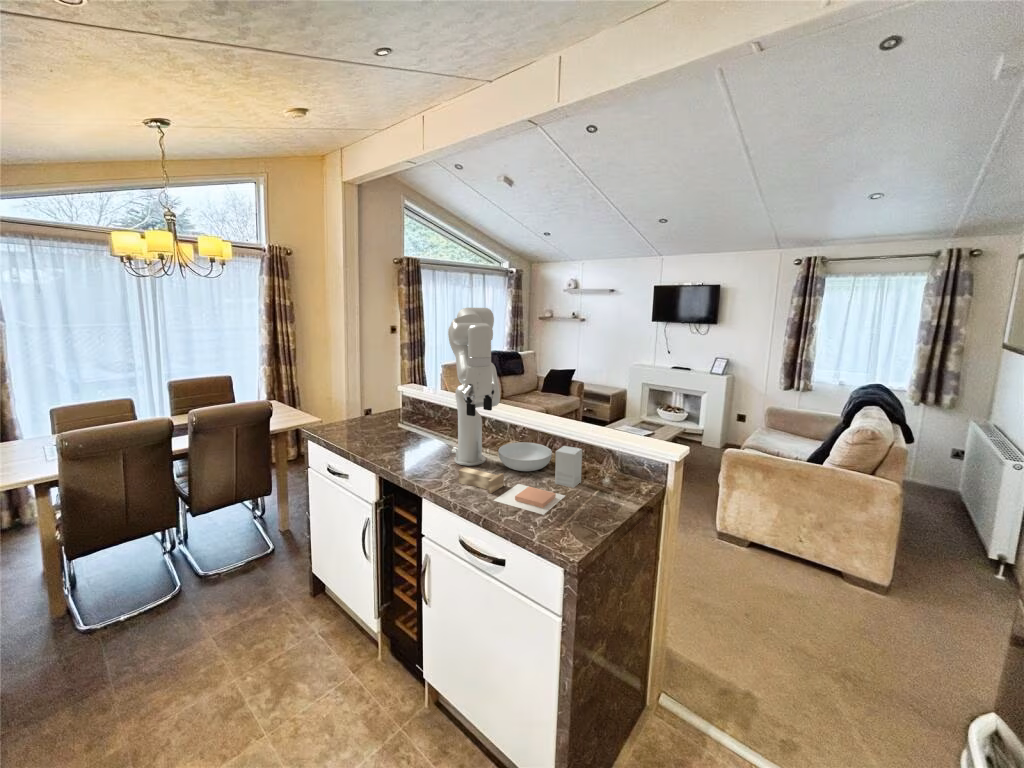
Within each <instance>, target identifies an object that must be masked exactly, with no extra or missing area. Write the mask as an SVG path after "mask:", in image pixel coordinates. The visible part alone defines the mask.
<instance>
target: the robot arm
mask: <svg viewBox="0 0 1024 768" xmlns="http://www.w3.org/2000/svg"><path fill="white" fill-rule="evenodd" d="M494 321H495V317H494V313H493V311H492V310H491V309H490V308H488V307H465V308H464V307H463V308H461V309H460V310H459V311H458V312H457V315H456V317H455V318H454V319H452V321H451V323H450V325H449V326H448V331H447V337H448V342H449V345H450V348H451V351H452V353H453V355H454V357H455V364H456V374H457V379H458V381H459V383H460V384H459V385H458V386H457V387H456V389H455V400H456V401H455V403H456V409H457V446H453V447H452V449H451V453H452V454H455V456H454V458H453V459H454V463H456V464H457V465H460V466H464V467H466V466H470V467H471V466H478V465H481V464H483V463H485V462H486V456H485V455H484V454H483V430H482V429H483V418H482V416H481V414H480V412H478V411H477V410H476V409H477V408H483V410H485V411H492V410H493V408H494V407H496V406H499V404H500V401H501V392H500V391H501V390H500V385H499V379H498V374H497V368H496V365H495V364H494V363H493V362H492V341H493V337H494V330H493V329H494V323H495V322H494Z"/></svg>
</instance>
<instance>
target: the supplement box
mask: <svg viewBox="0 0 1024 768" xmlns="http://www.w3.org/2000/svg"><path fill="white" fill-rule="evenodd" d="M582 462H583V448H579V447H573V446H566V445H563V446H561V447H560V448H558V449H557V450H555V469H554V470H555V472H554V473H555V474H554V476H555V477H554V478H555V479H554V484H556V485H560V486H563V487H564V486H565V487H568V488H573V489H574V488H575V487H576V486H578V484H579V483H580V484H582V466H583V465H582ZM580 484H579V485H580Z"/></svg>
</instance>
